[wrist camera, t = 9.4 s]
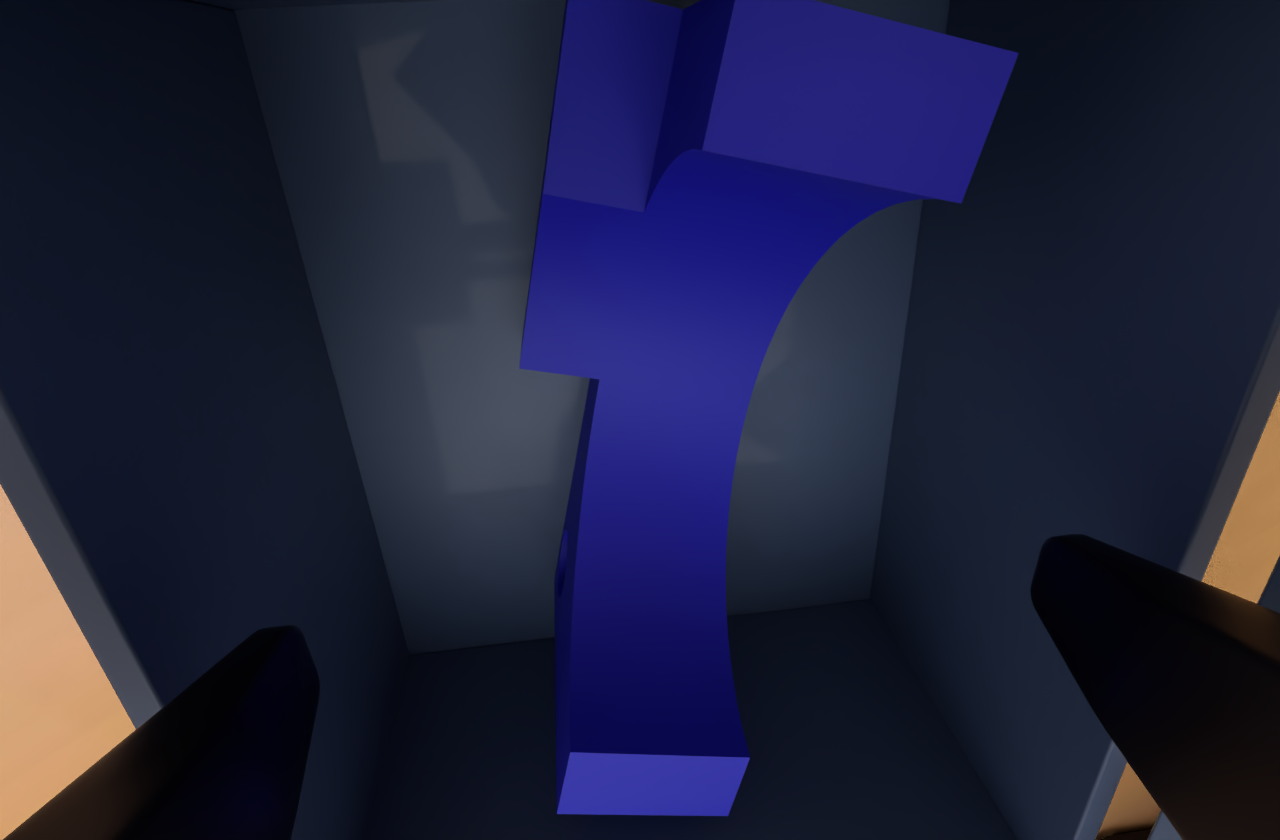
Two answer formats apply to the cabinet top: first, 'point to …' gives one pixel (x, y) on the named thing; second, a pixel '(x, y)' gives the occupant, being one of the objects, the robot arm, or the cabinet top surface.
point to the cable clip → (700, 327)
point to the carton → (554, 403)
